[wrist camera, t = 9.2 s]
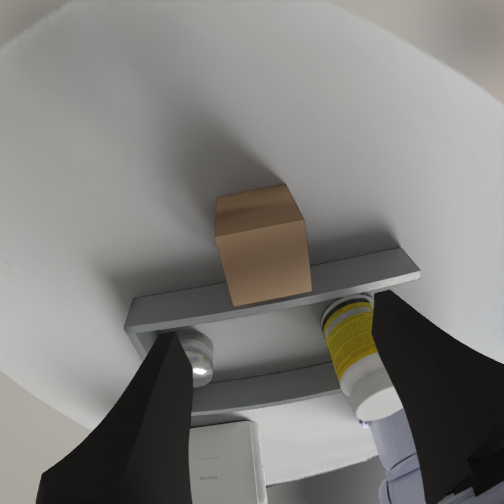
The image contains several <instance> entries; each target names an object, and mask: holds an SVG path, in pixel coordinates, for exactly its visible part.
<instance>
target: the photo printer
mask: <svg viewBox="0 0 504 504" xmlns="http://www.w3.org/2000/svg"><path fill="white" fill-rule="evenodd" d="M189 472H190V485H191V495H192V503H193V504H267V494H266V486H265V477H264V469H263V460H262V452H261V443H260V434H259V427H258V425H257V424H256V423H254V422H252V421H241V422H234V423H227V424H220V425H213V426H205V427H198V428H190V435H189Z"/></svg>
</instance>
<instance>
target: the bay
mask: <svg viewBox="0 0 504 504" xmlns="http://www.w3.org/2000/svg"><path fill="white" fill-rule="evenodd" d="M420 273H421V270H420V269H419V268H418V267H417V265H416V264H415V263H414V262H413V261H412V259H411V258H410V257H409V256H408V255H407V253H406V252H405V251H404V250H403V249H402V248H401V247H400V248H395V249H390V250H386V251H381V252H376V253H372V254H367V255H362V256H357V257H353V258H348V259H343V260H338V261H333V262H328V263H323V264H318V265H314V266H310V274H311V285H312V291H310V292H305V293H301V294H296V295H291V296H286V297H281V298H276V299H271V300H266V301H260V302H255V303H250V304H244V305H239V306H234V305H233V302H232V298H231V295H230V291H229V288H228V284H227V282H225V283H219V284H214V285H208V286H203V287H197V288H192V289H186V290H180V291H175V292H169V293H163V294H157V295H151V296H145V297H139V298H133V301H132V304H131V307H130V310H129V313H128V316H127V319H126V322H125V325H124V329H125V331H126V333H127V334H128V336H129V338H130V339H131V341H132V343H133V345H134V346H135V348H136V350H137V351H138V353H139V355H140V356H141V358H142V360H143V361H144V359H145V357H146V356H147V354H148V352H149V351H150V349H151V347H152V345H153V344H154V342H155V340H156V339H157V337H158V336H159V333H158V331H157V330H162V329H169V328H176V327H183V326H190V325H196V324H203V323H209V322H215V321H221V320H227V319H233V318H239V317H245V316H250V315H256V314H261V313H267V312H272V311H277V310H282V309H287V308H293V307H297V306H302V305H307V304H312V303H317V302H322V301H326V300H331V299H336V298H340V297H345V296H349V295H353V294H358V293H362V292H366V291H371V290H375V289H379V288H383V287H387V286H391V285H395V284H399V283H403V282H407V281H411V280H415V279H419V278H420ZM339 392H342V390H341V388H340V385H339V382H338V379H337V376H336V373H335V369H334V366H333V363H332V362H329V363H325V364H320V365H316V366H311V367H306V368H301V369H296V370H291V371H286V372H281V373H275V374H269V375H264V376H258V377H251V378H245V379H238V380H231V381H224V382H216V383H208V384H206V385H204V386H201V387H195V388H193V401H192V412H191V416H197V415H208V414H218V413H227V412H235V411H243V410H250V409H257V408H263V407H270V406H276V405H281V404H287V403H292V402H298V401H303V400H308V399H312V398H317V397H322V396H326V395H330V394H335V393H339Z"/></svg>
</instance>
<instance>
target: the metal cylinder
mask: <svg viewBox="0 0 504 504" xmlns="http://www.w3.org/2000/svg"><path fill="white" fill-rule="evenodd" d="M176 334H177V336H178V338H179V341H180V343H181V345H182V347H183V349H184V351H185V353H186V355H187V357H188V359H189V361H190V363H191V365H192V368H193V388H195V387H201V386H204V385H206V384H208V383H209V382H210V381H211V379H212V377H213V344H212V342H211V340H210V339H209V338H208V337H207V336H205V335H203V334H201V333H198V332H194V331H182V332H179V333H176Z"/></svg>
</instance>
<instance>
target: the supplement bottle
mask: <svg viewBox="0 0 504 504" xmlns="http://www.w3.org/2000/svg"><path fill="white" fill-rule="evenodd" d="M373 309H374V300H373V299H372V298H371V297H369V296H366V295H361V294H353V295H349V296H345V297H342V298H340V299H339V300H337V301H335V302H334V303H333V304H332V305H330V307H329V308H328V309H327V310H326V311H325V313H324V315H323V317H322V321H321V328H322V331H323V335H324V338H325V341H326V344H327V347H328V350H329V354H330V357H331V360H332V363H333V366H334V369H335V373H336V376H337V379H338V382H339V385H340V388H341V390H342V392H343V393H344V394H345V395H347V396H348V397H350V404H351V406H352V408H353V411H354V413H355V416H356V417H357V418H358V419H360V420H363V421H373V420H378V419H382V418H385V417H387V416H390V415H392V414H394V413H395V412H397V411H399V410H400V409H402V408H403V406H402V403H401V401H400V399H399V396H398V394H397V392H396V390H395V388H394V386H393V384H392V382H391V380H390V378H389V375H388V373H387V371H386V369H385V367H384V365H383V363H382V361H381V359H380V357H379V354H378V351H377V348H376V346H375V343H374V340H373V337H372V334H371V331H372V320H373Z"/></svg>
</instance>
